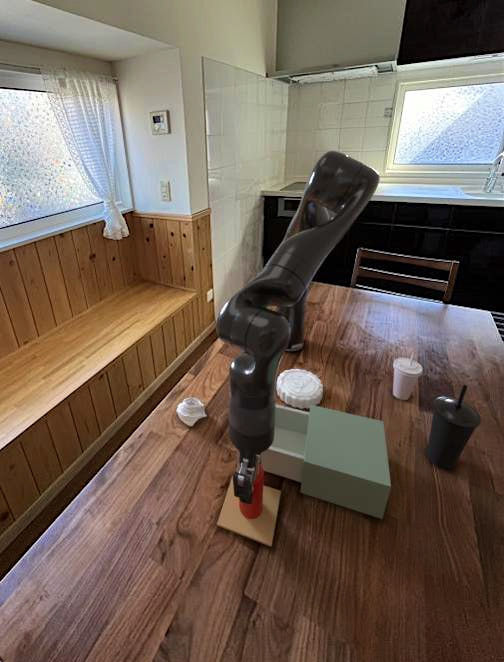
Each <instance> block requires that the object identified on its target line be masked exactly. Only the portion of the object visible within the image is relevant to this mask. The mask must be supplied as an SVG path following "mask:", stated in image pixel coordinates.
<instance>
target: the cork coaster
mask: <svg viewBox="0 0 504 662" xmlns="http://www.w3.org/2000/svg"><path fill="white" fill-rule="evenodd" d="M281 494H282V490H279V489H276V488H273V487H271V486H268V485H265V484H263V507H262V513H261V515H260V516H259V517H257V518H255V519H248V518H246V517H245V516H243V515H242V513H241V511H240V509H239V497H235V496H234V486H233V475H232V476H231V479H230V483H229V485H228V489H227V492H226V495H225V498H224V501H223V504H222V508H221V511H220V513H219V518H218V520H217V522H216V526H217V527H219V528H222V529H224V530H227V531H230V532H232V533H233V534H234V533H235V534H237V535H240V536H241V537H244V538H247V539H250V540H253V541H255V542H257V543H260V544H263V545H265V546H268V547H270V548H272V546H273V542H274V536H275V530H276V523H277V517H278V511H279V507H280V501H281Z"/></svg>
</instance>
